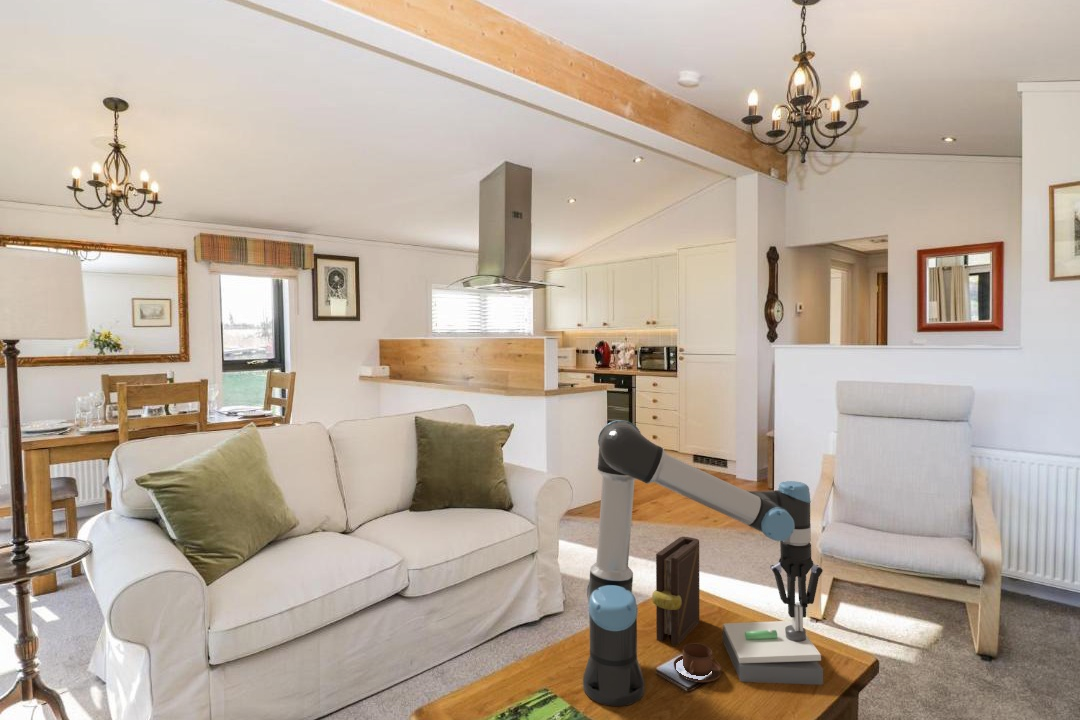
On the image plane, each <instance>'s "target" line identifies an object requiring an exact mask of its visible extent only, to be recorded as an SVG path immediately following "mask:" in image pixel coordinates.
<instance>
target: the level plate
mask: <svg viewBox="0 0 1080 720" xmlns="http://www.w3.org/2000/svg"><path fill="white" fill-rule="evenodd" d="M722 627H724V631H725V633H726V635H727V637H728V639H729V642H730V644H731V646H732V648H733V650H734V652H735V655H736V657H737V659H738V661H739V663H766V662H793V661H818V662H819V661H822V654H821V653H820V652H819V650H818V649H817V647H816V646H815V645H814V643H813V642H812V640H811V639H810V638H809V637H808V635H807V633H806V632H807V631H806V629H805V628H804V627H803V631H800V630H799V631H795V629H794V628H793V627H792V620H778V621H754V622H749V621H748V622H733V623H732V622H731V623H729V622H728V623H723V626H722Z"/></svg>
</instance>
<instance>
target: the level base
mask: <svg viewBox="0 0 1080 720" xmlns="http://www.w3.org/2000/svg"><path fill="white" fill-rule="evenodd" d="M722 643H723V645H724V647H725V648H726V652H727V653H728V656H729V659H730V660H731V663H732V665H733V668H734V670H735V672H736V674H737V677H738V679H739V682H742V683H762V684H763V683H768V684H769V683H770V684H787V685H788V684H789V685H790V684H791V685H792V684H793V685H815V686H816V685H817V686H818V685H819V686H822V685H823V686H824V669H823V668H824V667H822V666H821V665H820V663H819V661H793V662H766V663H739V661H738V659H737V657H736V655H735V652H734V650H733V648H732V646H731V644H730V642H729V639H728V637H727V635H726V633H725V631H724V626H722Z"/></svg>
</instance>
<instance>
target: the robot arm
mask: <svg viewBox="0 0 1080 720" xmlns="http://www.w3.org/2000/svg"><path fill="white" fill-rule="evenodd" d="M597 438H598V439H597V443H598V458H597V461H598V462H597V471H598V473H600V475H601V476H602V483H601V496H600V509H599V521H598V522H599V523H598V534H597V549H596V550H597V551H596V559H595V560H596V562H594V564H592V565H591V566H590V569H589V581H588V585H587V588H586V595H587V605H588V618H589V657H588V661H587V664H586V667H585V670H584V672H583V676H582V688H583V691H584V693H585V695H586V696H587V697H588V698H590V699H591V700H593V702H594V701H595V702H596V703H599V704H601V705H605V706H610V707H623V706H629V705H632V704H634V703H636V702H638V701H640V700H641V699H642V697H643V696H644V694H645V679H644V675H643V672H642V669H641V666H640V662H639V660H638V629H637V628H638V621H637V619H638V605H637V599H636V597H635V595H634V594H633V582H634V572H633V570H632V569H631V567H629V560H630V544H631V531H632V519H633V505H634V491H635V481H636V480H638V481H641V482H642V483H645V484H647V485H649V484H652V483H655V484H657V485H659V486H661V487H663V488H666V489H668V490H670V491H673V492H674V493H677V494H678V495H681V496H683V497H685V498H687V499H689V500H692V501H694V502H696V503H699V504H701V505H703V506H705V507H708V508H709V509H712V510H714V511H716V512H717V513H721V514H722V515H725V516H727V517H730V518H731V519H733V520H736V521H737V522H740V523H742V524H744V525H746V526H748V527H750V528H752V529H754V530H756V531H758V532H761V533H762V534H764V536H765V537H767V538H769V539H770V540H772V541H775V542H780V544H779V545H780V557H779V559H778V563H776V564H775V565H773V564H772V565H770V567H769V568H770V570H771V571H772V573H773V575H774V578H775V583H776V586H777V590H778V593H779V599H780V600H781V601H782V602H783V604H785V605H787V613H788V616H789V617H790V618H791V621H792V627H793V628H794V629H795V631H799V630H800V631H803V628H804V620H803V619H804V618H807V608H808V606H809V605H810V604H811V605H813V604H814V602H815V597H816V593H817V588H818V584H819V579H820V577H821V575H822V574H823V571H824V570H823V569H822V567H821V566H820V565H818V564H815V563H814V561H813V559H812V544H811V542H812V529H811V526H812V525H811V504H812V503H811V502H812V500H811V493H810V487H809V485H807V484H806V483H804V482H801V481H795V480H790V481H789V480H787V481H781V482H779V483H778V489H777V490H776V489H775V490H755V491H754V490H745V489H743V488H741V487H739V486H736V485H734V484H732V483H729V482H728V481H726V480H723V479H721V478H719V477H717V476H714V475H712V474H710V473H708V472H706V471H704V470H701V469H699V468H698V467H695V466H693V465H691V464H689V463H686V462H684V461H682V460H680V459H678V458H675V457H673V456H671V455H670V454H667V453H666V451H665V449H664V447H661V446H659V445H657V444H655V443H654V442H652V441H651V440H649V439H648V438H647V437H645V436H644V435H643V434H642V433H641V430H640V429H639V428H638V427H637V426H636V425H635V424H634V423H632V422H630V421H627V420H620V419H617V420H613V421H610V422H609V423H606V425H604V427H602V429H601V431H600V432H599V434H598V437H597ZM782 569H783V570H784V572H785V573H786V576H787V577H786V578H787V580H786V583H787V585H786V588H787V591H786V589H785V583H784V582H783V581H784V580H783V576H782V574H781V573H782ZM810 571H811V572H810ZM809 572H810V575H809V578H808V579H809V580H808V583H807V574H808V573H809ZM796 581H797V589H798V591H797V592H798V593H797V594H798V601H799V602H797V601H796ZM806 584H807V585H808V586H807V585H806Z"/></svg>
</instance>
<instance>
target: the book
mask: <svg viewBox="0 0 1080 720" xmlns="http://www.w3.org/2000/svg"><path fill="white" fill-rule="evenodd" d="M655 564H656V565H655V566H656V567H655V572H656V573H655V575H656V576H655V580H656V581H655V588H656V589H655V590H654V591H652V595H651V596H652V597H651V600H652V603H653V604H654V605H655V607H656V608H655V609H656V610H655V611H656V613H655V616H656V617H655V618H656V628H655V629H656V631H655V632H656V641H658V642H660V643H661V642H664V640H666V638H667V637H669V635H670V637H671V638H670V639H671V646H674V647H678V646H679V645H680V644H681V643H682V642H683V641H684V640H685V638H686V637H688V635H689V634H690V633H691V632H692V631H693V630H694V629H695V628H696V627H697V625H698V624H699V623H700V539H698V538H695V537H689V536H680V537H678V538H676V540H674V541H673V542H670V543H669V544H668V545H666V547H664V548H662V549H661V550H659V551H658V552H657V553H656V554H655Z"/></svg>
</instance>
